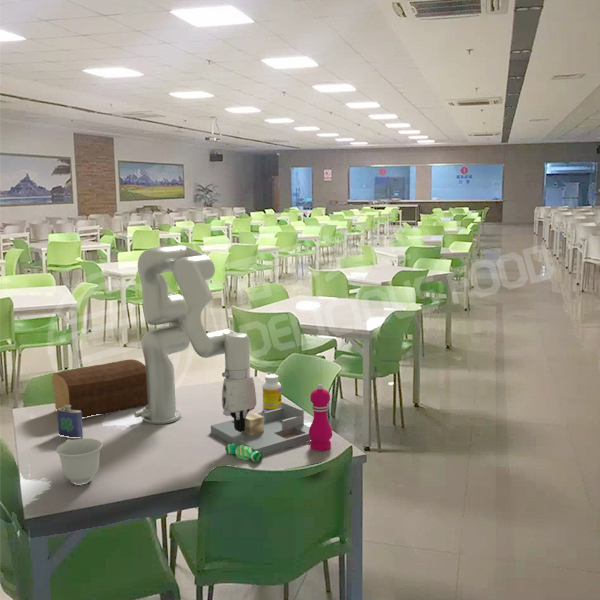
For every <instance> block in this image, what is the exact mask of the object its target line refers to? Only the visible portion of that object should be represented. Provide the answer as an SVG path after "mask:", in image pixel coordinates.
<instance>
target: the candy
mask: <svg viewBox="0 0 600 600" xmlns="http://www.w3.org/2000/svg"><path fill="white" fill-rule="evenodd" d="M224 450H225V452H226V454H228V455H233V454H235V457H236V458H237V459H240V460H243V461H249V460H250V459H251V461H252V462H253V463H255V464H257V462H262V461H263V459H264V455H262V453H261V452H259V451H255V452H252V449H251V447H248V446H245V445H240V446H238V447H237V446H236V445H235V444H234V443H232V442H231V443H228V442H227V443H226V446H225V448H224Z"/></svg>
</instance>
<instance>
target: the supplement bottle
mask: <svg viewBox="0 0 600 600" xmlns="http://www.w3.org/2000/svg"><path fill="white" fill-rule="evenodd" d="M264 381H265V382H263V383H262V412H265V411H269V410H275V409H279V408H281V402H282V384H281V383H280V381H279V375H277V374H275V373H274V374H273V373H272V374H271V373H270V374H266V375H265V376H264Z"/></svg>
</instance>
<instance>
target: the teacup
mask: <svg viewBox="0 0 600 600" xmlns="http://www.w3.org/2000/svg"><path fill="white" fill-rule="evenodd" d="M101 448H103V442H101V441H100V440H99V439H95V438H94V439H93V438H81V439H71V438H67V439H66V440H65V442H64V443H60V444H59V445H58V446H57V448H56V450H55V451H56V454H58V455H59V458H60V463H61V468H62V473H63V475H64V476H65V478H67V479H68V480H70V483H71V482H72V483H76V484H82V483H87V482H89V481H91V480H92V478H93V477H94V476H96V475H97V473H98V471H99V467H100V453H101Z"/></svg>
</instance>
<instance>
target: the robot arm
mask: <svg viewBox="0 0 600 600" xmlns="http://www.w3.org/2000/svg"><path fill="white" fill-rule="evenodd" d="M137 272H138V277H139V279H140V283H141V295H142V308H143V316H144V320H145V323H146V324H148V325H150V326H161V325H166V324H169V326H163V327H158V328H153V329H151V330H148V331H146V332H145V333H144V334H143V336H142V337H141V342H140V343H141V344H140V345H141V346H140V347H141V350H142V353H143V358H144V365H145V366H146V382H147V401H148V404H147V405H144V409H142V410H139V411H135V412H134V418H139V417H140V418H141V419H143V420H144V422H145V423H148V424H153V425H163V424H171V423H173V422H176V421H178V420H179V419H181V417H182V415H181V414H182V413H181V412H180V411H179V410H177V403H176V383H175V382H176V378H175V376H176V375H175V367H174V364H173V363H172V361H171V360H170V358H169V355H172V354H176V353H180V352H183V351H185V350H187V349H188V348H189V345H190V344H191V346H192V348H193V350H194V351H195V353H196V354H197V355H198V356H199V357H201V358H204V359H207V358H208V359H209V358H212V357H215V356H220V355H224V365H225V366H224V367H225V368H224V372H222V373H221V376H222V377H223V381H222V388H221V390H222V392H221V403H222V404H221V405H222V409H223V413H222V414H223V415H224V416H226V417H227V416H228V417H231V418H233V420H234V428H235V430H237V431H239V432H242V431H245V418H246V416H247V415H248V414H249V412H251V411H253V410H254V409H255V408H256V406H257V392H256V385H255V380H254V376H253V375H251V365H250V338H249V336H248V335H247V334H246V333H243V332H235V331H234V330H231V329H228V328H225V329H223V328H222V329H218V330H212V331H209V332H206V331H205V330H206V329H205V328H204V326H203V324H202V318H201V317H202V314H203V313H202V312H203V311H204V309H205V308H207V307H208V306H209V305H210V304H211V303H212V302H213V300H214V295H213V293H212V291H211V289H210V287H209V285H208V283H207V281H208V280H211V279H212V278H213V277H214V275H215V273H216V267H215V263H214V262H213V260H212V258H210V257H209V256H208V255H207V254H204V253H203V252H201V251H199V250H196V249H194V248H192V247H190V246H187V245H182V244H181V245H180V244H179V245H176V244H175V245H167V246H156V247H152V248H148V249H145V250H144V251H143V252H141V253H140V255H139V257H138V260H137ZM169 272H172V274H173V277H174V280H175V282H176V284H177V286H178V289H179V290H180V292H181V294H182V295H180V294H176V293H172V294H169V285H168V282H167V280H166V278H165V277H164V275H163V274H162V273H169Z"/></svg>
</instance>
